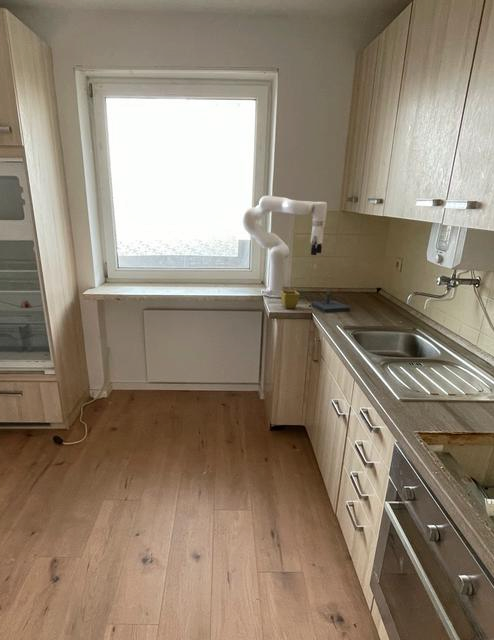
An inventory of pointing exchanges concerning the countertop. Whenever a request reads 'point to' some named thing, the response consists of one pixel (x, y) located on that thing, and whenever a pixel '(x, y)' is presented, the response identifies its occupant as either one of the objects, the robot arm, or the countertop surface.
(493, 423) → the countertop surface
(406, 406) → the countertop surface
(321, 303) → the dark stamp
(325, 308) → the big pad
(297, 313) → the countertop surface
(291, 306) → the flower pot
